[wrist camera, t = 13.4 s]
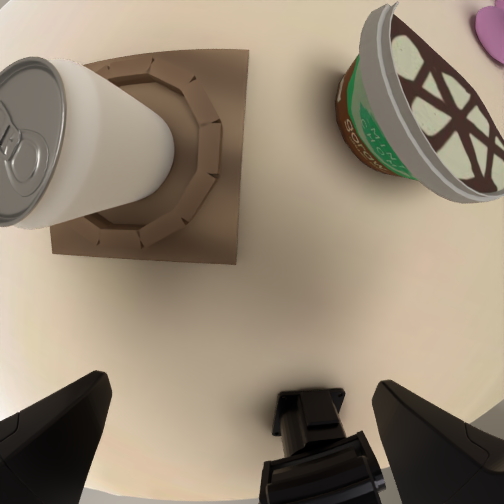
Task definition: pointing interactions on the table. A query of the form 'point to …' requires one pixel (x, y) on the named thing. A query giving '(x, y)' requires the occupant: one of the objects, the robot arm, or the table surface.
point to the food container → (418, 115)
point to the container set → (492, 29)
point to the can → (73, 144)
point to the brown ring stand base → (176, 162)
